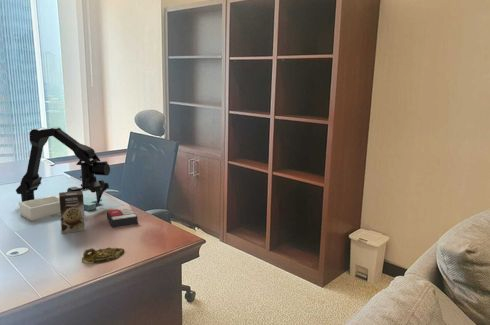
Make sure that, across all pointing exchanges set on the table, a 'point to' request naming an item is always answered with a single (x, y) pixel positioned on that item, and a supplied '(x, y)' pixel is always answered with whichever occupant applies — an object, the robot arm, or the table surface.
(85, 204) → the lid
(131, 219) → the black box
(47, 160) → the table surface
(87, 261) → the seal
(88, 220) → the table surface
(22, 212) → the tub
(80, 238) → the table surface
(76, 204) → the coffee box
